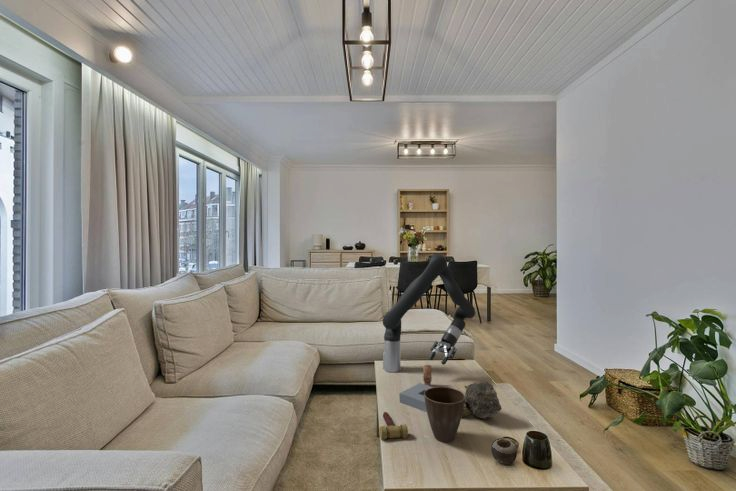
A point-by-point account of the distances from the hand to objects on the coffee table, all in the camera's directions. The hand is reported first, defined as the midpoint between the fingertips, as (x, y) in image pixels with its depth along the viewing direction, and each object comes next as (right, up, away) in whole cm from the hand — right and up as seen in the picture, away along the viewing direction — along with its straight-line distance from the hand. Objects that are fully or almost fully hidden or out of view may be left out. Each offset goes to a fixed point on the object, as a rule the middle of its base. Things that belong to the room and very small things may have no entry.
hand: (436, 361), depth 188 cm
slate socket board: (-9, -11, -22) cm, 26 cm away
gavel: (-27, -13, -43) cm, 52 cm away
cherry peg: (-5, -11, -3) cm, 13 cm away
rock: (+9, -12, -35) cm, 38 cm away
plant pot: (-7, -12, -52) cm, 53 cm away
